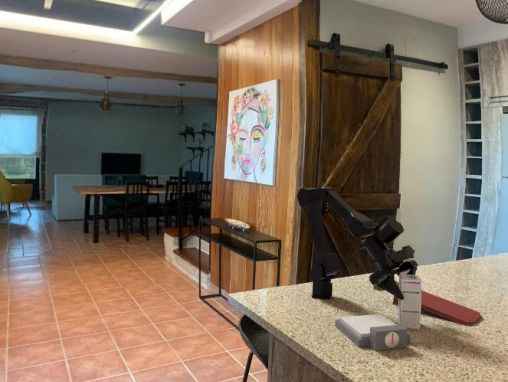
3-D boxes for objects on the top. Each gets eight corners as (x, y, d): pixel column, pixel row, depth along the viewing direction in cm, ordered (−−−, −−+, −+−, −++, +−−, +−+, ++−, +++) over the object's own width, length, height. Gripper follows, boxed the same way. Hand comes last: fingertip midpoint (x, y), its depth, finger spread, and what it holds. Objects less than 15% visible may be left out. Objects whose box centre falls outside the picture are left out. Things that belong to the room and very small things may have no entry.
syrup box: (420, 329, 122) (423, 280, 121) (399, 327, 123) (401, 278, 122) (417, 322, 128) (419, 274, 127) (396, 320, 129) (398, 273, 128)
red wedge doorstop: (480, 327, 135) (404, 297, 151) (483, 313, 134) (407, 284, 150) (467, 339, 126) (389, 306, 142) (471, 323, 125) (392, 292, 142)
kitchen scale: (335, 326, 123) (335, 309, 123) (381, 322, 127) (382, 306, 127) (365, 353, 106) (366, 333, 106) (417, 347, 110) (418, 328, 110)
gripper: (379, 240, 121) (413, 287, 114) (413, 234, 133) (446, 276, 126) (355, 262, 128) (386, 308, 120) (390, 254, 140) (420, 295, 132)
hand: (411, 296), depth 124 cm, fingers open, 9 cm apart
